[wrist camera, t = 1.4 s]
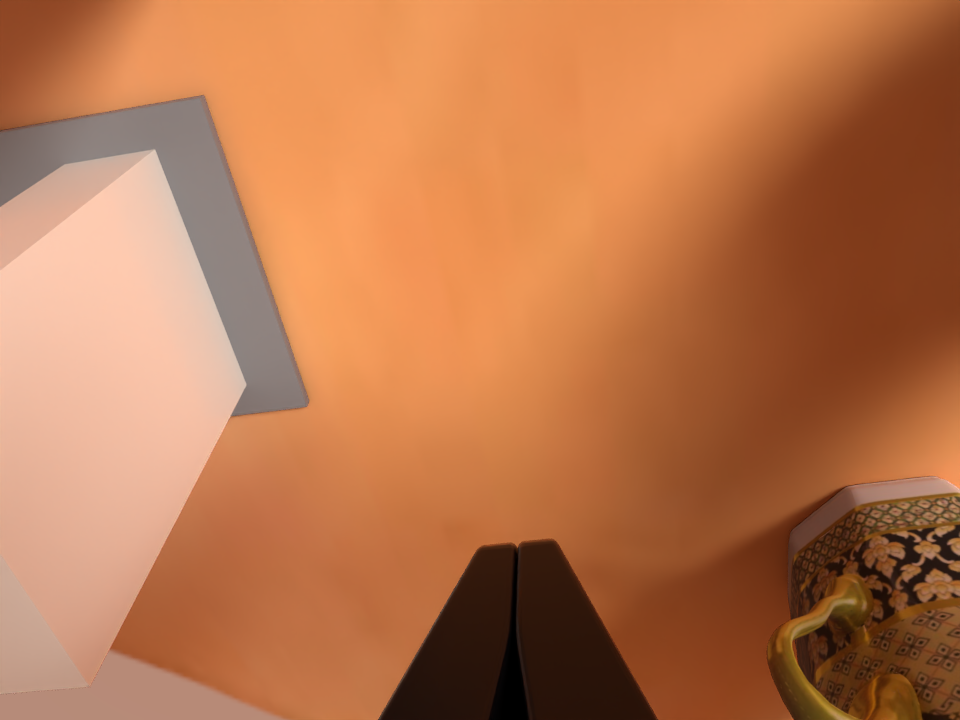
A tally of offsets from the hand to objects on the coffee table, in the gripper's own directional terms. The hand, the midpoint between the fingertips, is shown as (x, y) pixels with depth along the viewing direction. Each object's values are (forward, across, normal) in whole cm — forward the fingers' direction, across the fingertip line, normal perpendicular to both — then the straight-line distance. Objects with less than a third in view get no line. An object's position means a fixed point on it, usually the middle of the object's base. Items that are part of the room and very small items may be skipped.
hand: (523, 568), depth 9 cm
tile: (+13, +10, +1) cm, 16 cm away
